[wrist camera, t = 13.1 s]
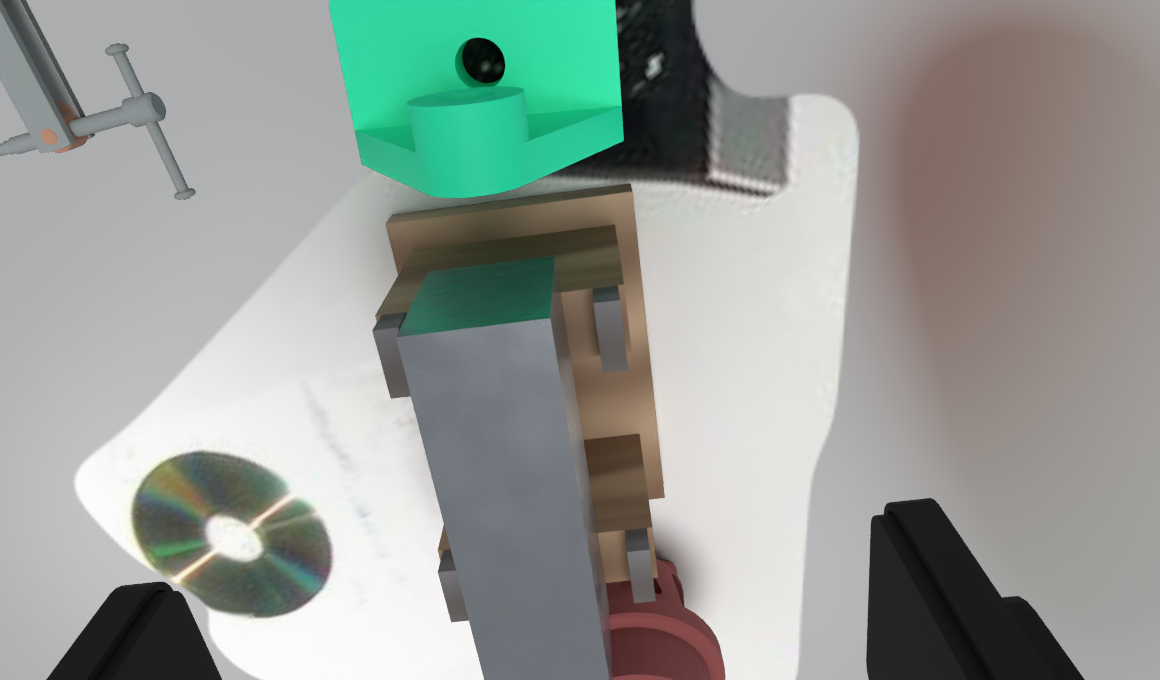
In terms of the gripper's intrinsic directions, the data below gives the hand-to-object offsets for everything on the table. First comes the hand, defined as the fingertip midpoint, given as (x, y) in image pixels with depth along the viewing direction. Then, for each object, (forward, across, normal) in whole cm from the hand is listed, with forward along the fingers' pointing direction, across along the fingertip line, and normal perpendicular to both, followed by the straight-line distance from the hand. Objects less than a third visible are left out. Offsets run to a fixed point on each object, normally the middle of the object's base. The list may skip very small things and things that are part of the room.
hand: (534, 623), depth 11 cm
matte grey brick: (+21, +3, +11) cm, 24 cm away
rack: (+30, +3, +11) cm, 32 cm away
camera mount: (+31, +3, -5) cm, 31 cm away
